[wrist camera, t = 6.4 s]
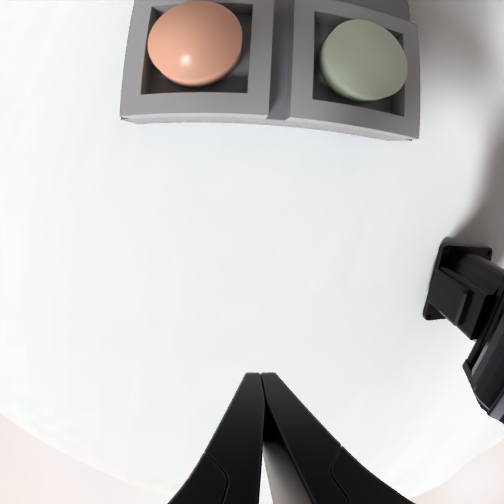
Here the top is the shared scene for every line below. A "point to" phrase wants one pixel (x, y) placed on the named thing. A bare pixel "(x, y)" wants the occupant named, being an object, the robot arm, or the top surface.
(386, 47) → the sage button
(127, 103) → the console
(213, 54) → the terracotta button
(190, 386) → the top surface
